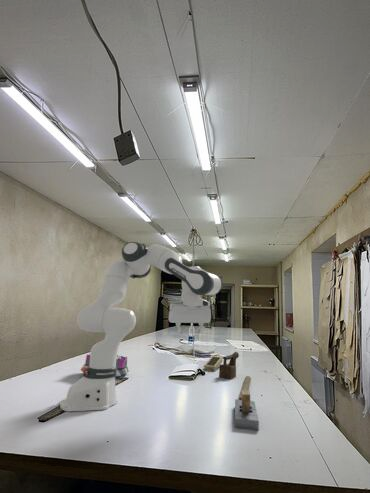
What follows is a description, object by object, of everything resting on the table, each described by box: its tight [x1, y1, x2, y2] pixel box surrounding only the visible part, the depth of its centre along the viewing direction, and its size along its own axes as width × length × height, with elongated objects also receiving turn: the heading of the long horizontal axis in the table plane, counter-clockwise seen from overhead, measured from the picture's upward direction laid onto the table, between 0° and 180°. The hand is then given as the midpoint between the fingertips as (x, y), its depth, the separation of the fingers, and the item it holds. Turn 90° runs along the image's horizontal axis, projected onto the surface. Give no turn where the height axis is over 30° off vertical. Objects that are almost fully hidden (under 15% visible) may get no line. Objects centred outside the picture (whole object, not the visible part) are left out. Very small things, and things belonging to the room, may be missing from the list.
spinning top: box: [82, 353, 130, 377], centre depth 170 cm, size 27×28×15 cm
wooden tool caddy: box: [218, 351, 240, 380], centre depth 181 cm, size 8×16×13 cm, turn 143°
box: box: [203, 355, 223, 373], centre depth 199 cm, size 8×22×5 cm, turn 160°
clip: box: [242, 390, 251, 413], centre depth 116 cm, size 3×6×9 cm, turn 171°
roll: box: [237, 375, 252, 400], centre depth 151 cm, size 4×43×3 cm, turn 165°
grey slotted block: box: [234, 398, 260, 431], centre depth 115 cm, size 8×22×3 cm, turn 171°
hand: (189, 333), depth 133 cm, fingers open, 8 cm apart
